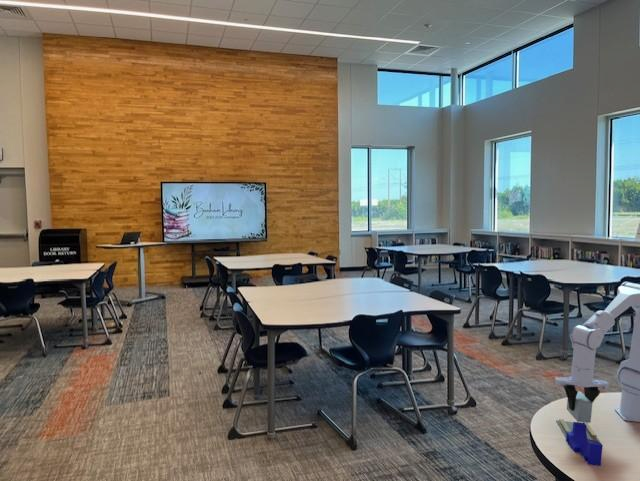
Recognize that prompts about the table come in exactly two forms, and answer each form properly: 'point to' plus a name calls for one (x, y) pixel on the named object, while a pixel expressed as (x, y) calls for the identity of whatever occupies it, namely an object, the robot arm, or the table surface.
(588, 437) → the guide mat
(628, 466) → the table surface
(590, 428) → the guide rails
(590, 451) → the cable clip
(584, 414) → the bar
